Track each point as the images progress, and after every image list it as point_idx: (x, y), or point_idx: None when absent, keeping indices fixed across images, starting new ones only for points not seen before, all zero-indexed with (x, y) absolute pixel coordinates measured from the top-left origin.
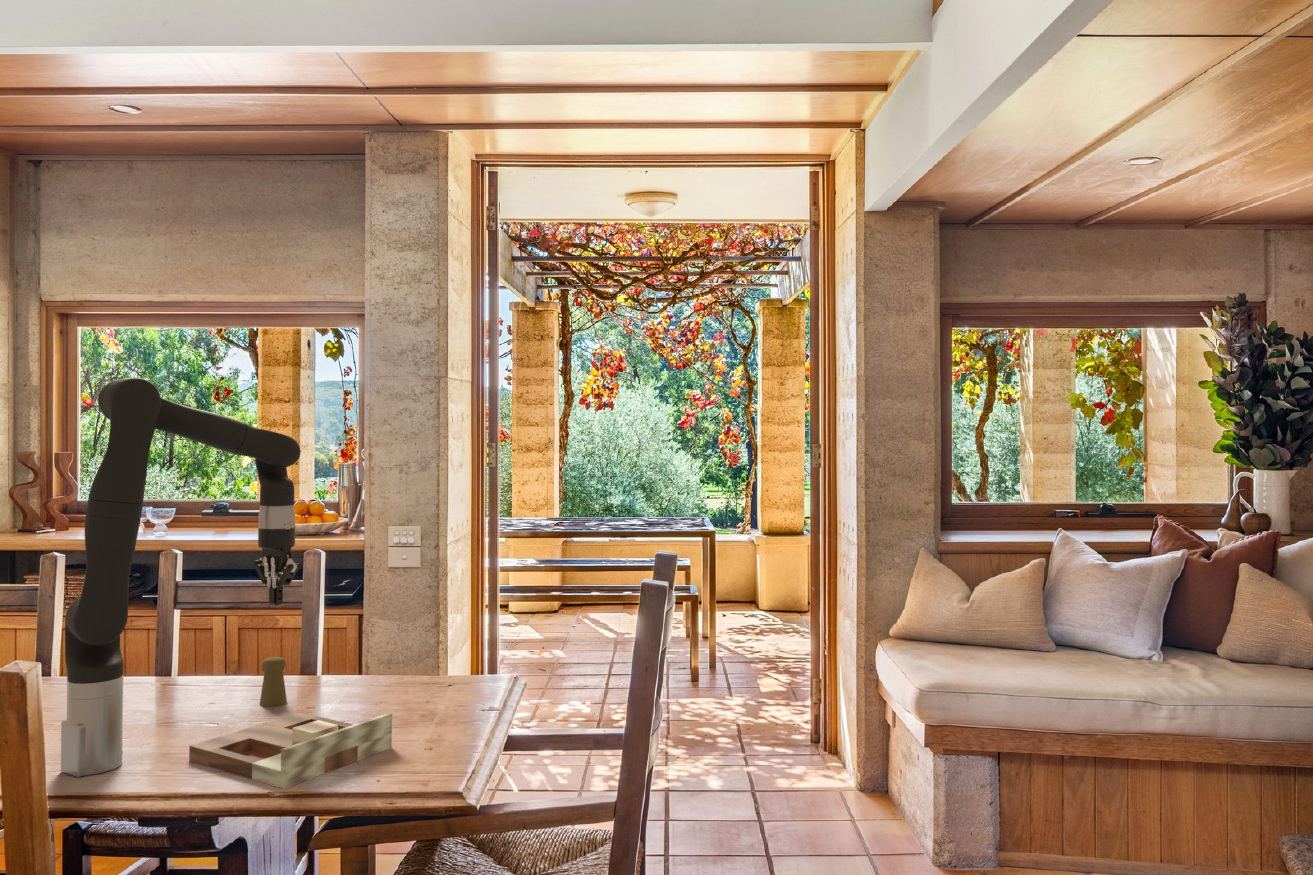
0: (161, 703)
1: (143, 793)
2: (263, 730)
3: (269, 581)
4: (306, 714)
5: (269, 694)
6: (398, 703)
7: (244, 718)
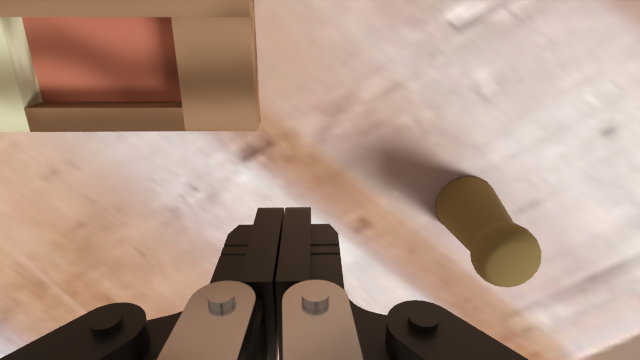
0: None
1: None
2: None
3: (305, 330)
4: (226, 127)
5: (463, 196)
6: None
7: (429, 91)
